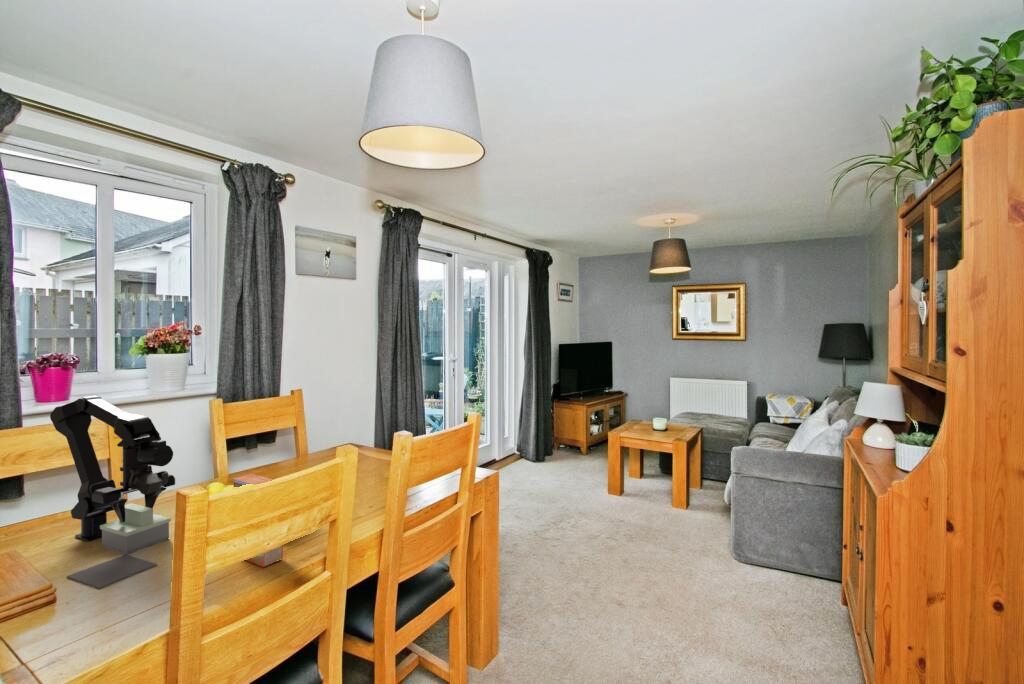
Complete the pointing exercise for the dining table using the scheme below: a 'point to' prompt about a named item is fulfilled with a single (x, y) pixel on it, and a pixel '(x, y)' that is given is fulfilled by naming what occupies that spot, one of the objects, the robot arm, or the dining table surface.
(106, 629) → the dining table surface
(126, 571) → the mat
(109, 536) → the storage box
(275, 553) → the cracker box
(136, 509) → the lid
